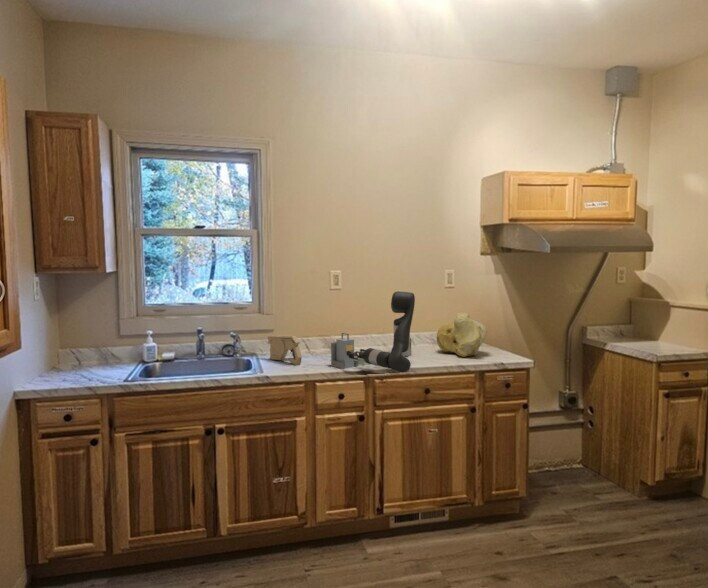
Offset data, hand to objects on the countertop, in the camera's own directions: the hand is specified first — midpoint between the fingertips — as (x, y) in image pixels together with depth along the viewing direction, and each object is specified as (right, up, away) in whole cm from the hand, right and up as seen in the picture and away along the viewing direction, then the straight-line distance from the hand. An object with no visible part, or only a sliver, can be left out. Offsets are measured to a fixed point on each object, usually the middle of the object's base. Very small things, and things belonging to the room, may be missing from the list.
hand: (353, 352), depth 252 cm
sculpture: (+61, -6, +36) cm, 71 cm away
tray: (+6, -7, +17) cm, 19 cm away
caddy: (-4, -8, +6) cm, 11 cm away
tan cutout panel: (-37, -8, +18) cm, 42 cm away
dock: (-4, -8, +6) cm, 11 cm away
